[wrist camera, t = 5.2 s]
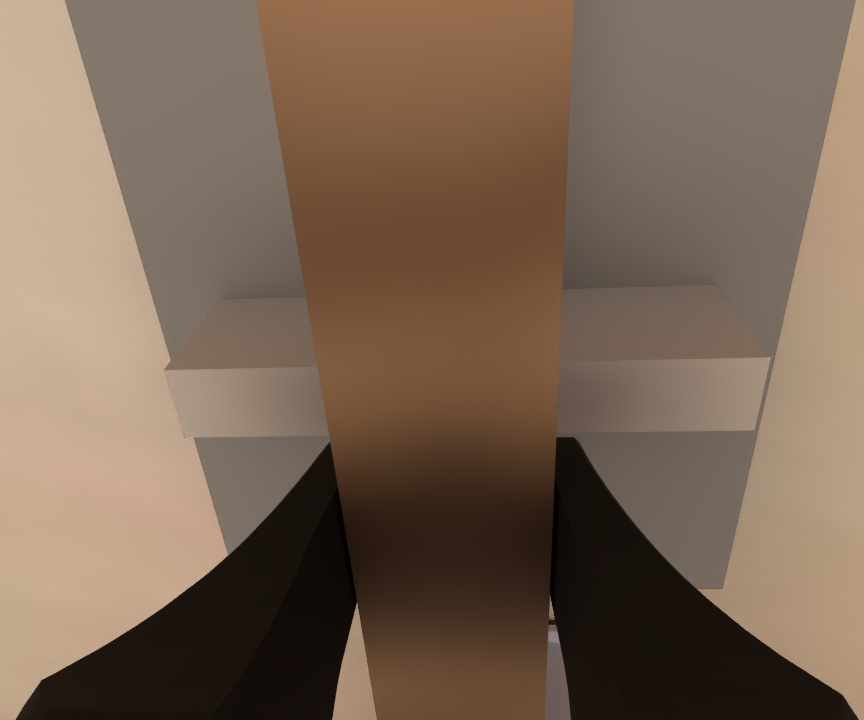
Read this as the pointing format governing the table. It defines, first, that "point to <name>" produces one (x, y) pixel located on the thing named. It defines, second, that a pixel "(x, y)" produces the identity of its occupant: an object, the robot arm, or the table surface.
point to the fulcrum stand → (583, 242)
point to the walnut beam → (435, 322)
